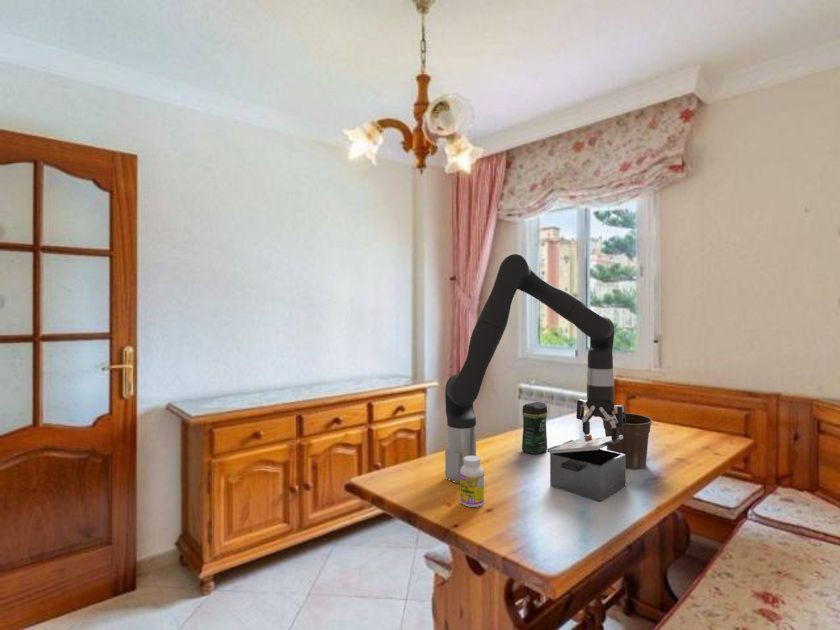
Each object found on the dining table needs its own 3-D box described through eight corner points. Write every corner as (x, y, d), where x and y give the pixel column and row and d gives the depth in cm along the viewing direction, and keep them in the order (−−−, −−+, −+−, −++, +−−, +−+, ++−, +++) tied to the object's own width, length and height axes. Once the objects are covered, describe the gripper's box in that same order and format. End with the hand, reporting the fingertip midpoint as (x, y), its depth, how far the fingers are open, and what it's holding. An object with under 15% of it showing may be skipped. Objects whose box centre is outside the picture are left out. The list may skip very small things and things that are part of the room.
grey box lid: (603, 449, 129) (601, 440, 129) (545, 453, 143) (543, 445, 143) (629, 438, 140) (626, 429, 140) (573, 443, 154) (571, 435, 154)
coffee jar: (536, 456, 170) (536, 406, 170) (518, 451, 176) (518, 403, 176) (551, 450, 177) (551, 402, 176) (533, 446, 183) (533, 399, 182)
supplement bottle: (455, 503, 130) (455, 458, 130) (470, 496, 134) (470, 452, 134) (474, 510, 125) (473, 463, 125) (489, 503, 130) (488, 458, 129)
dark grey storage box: (595, 505, 128) (595, 469, 128) (544, 488, 140) (544, 455, 140) (629, 484, 143) (629, 452, 143) (581, 471, 155) (581, 441, 154)
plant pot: (622, 474, 152) (622, 425, 151) (591, 458, 167) (591, 414, 167) (663, 469, 156) (663, 421, 156) (629, 454, 171) (629, 411, 171)
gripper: (571, 381, 141) (572, 434, 141) (618, 387, 130) (618, 444, 130) (584, 379, 146) (584, 430, 146) (629, 384, 135) (629, 439, 135)
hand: (600, 437), depth 138 cm, fingers open, 8 cm apart
